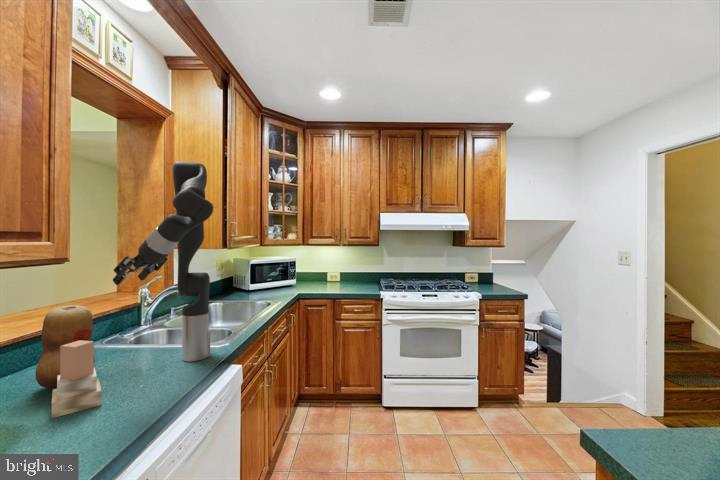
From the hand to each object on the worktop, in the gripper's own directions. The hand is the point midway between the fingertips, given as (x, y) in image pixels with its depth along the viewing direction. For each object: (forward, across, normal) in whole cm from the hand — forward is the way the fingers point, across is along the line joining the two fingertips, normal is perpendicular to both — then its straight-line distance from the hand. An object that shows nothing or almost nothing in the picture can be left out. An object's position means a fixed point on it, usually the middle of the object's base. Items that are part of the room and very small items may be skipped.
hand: (128, 280), depth 99 cm
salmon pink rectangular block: (+21, +12, +14) cm, 28 cm away
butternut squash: (+38, +3, +10) cm, 39 cm away
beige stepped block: (+27, +12, +20) cm, 36 cm away
